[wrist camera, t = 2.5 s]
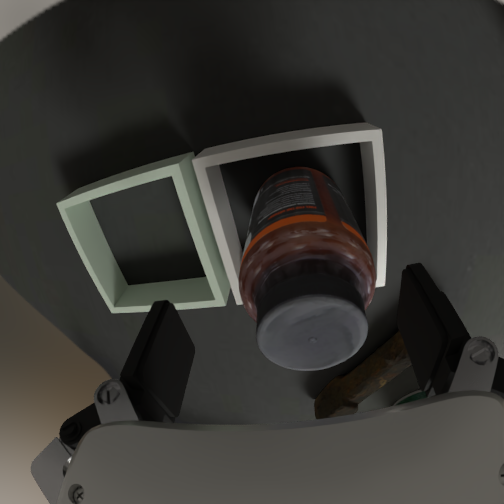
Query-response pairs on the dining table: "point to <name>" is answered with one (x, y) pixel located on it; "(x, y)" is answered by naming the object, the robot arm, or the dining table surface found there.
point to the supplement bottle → (306, 272)
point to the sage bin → (104, 264)
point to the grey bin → (284, 142)
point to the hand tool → (363, 380)
